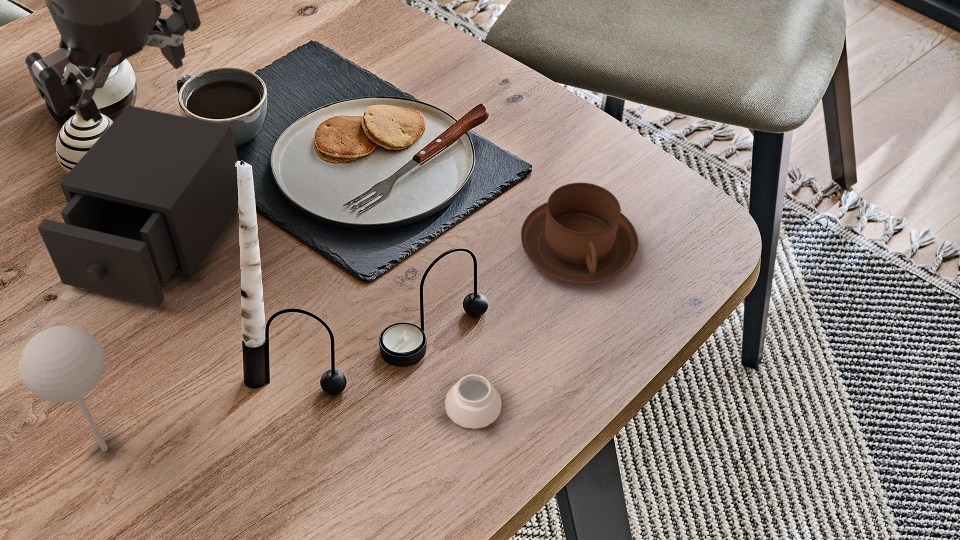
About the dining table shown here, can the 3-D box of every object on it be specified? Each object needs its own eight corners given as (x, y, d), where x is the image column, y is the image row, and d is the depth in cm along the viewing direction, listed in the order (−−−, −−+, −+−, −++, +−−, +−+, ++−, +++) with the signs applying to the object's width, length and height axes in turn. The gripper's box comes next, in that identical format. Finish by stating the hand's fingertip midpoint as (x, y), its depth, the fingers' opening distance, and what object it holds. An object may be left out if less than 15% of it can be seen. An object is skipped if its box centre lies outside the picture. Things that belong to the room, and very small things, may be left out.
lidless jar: (464, 376, 87) (434, 414, 84) (464, 356, 85) (434, 395, 82) (511, 399, 85) (482, 440, 82) (512, 380, 83) (483, 421, 80)
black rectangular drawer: (152, 317, 90) (132, 260, 84) (55, 292, 91) (29, 236, 86) (213, 227, 98) (199, 170, 92) (123, 206, 100) (104, 149, 94)
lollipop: (150, 421, 83) (104, 310, 72) (131, 480, 79) (80, 373, 68) (79, 418, 83) (23, 307, 72) (57, 478, 79) (-6, 370, 68)
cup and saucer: (658, 269, 97) (668, 227, 92) (557, 308, 93) (562, 266, 88) (595, 197, 104) (602, 154, 99) (499, 230, 100) (502, 187, 95)
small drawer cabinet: (191, 278, 94) (170, 208, 87) (87, 253, 96) (59, 183, 89) (246, 196, 102) (231, 126, 95) (149, 174, 104) (128, 105, 97)
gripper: (142, -105, 71) (172, 15, 86) (-26, -8, 67) (36, 101, 82) (206, -37, 70) (224, 73, 86) (39, 67, 66) (90, 163, 81)
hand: (132, 86), depth 84 cm, fingers open, 8 cm apart
